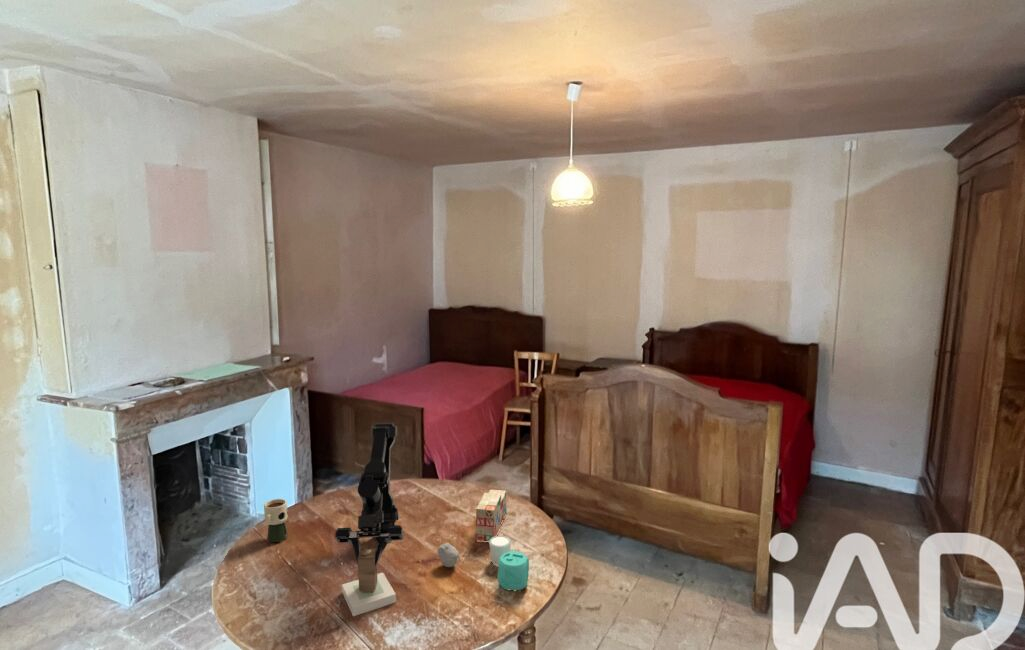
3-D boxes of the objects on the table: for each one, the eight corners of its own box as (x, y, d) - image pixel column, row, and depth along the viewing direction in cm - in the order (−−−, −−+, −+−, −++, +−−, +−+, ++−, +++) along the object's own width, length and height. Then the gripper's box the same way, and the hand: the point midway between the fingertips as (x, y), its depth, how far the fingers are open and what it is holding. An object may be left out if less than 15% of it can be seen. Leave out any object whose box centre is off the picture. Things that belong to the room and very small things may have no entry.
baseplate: (383, 580, 166) (382, 572, 166) (396, 602, 156) (395, 593, 156) (342, 592, 160) (341, 584, 160) (353, 616, 150) (352, 607, 150)
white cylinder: (514, 558, 178) (514, 538, 177) (505, 569, 171) (505, 548, 170) (495, 553, 180) (495, 533, 179) (485, 564, 174) (485, 543, 173)
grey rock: (444, 558, 178) (444, 537, 177) (463, 563, 175) (463, 542, 174) (433, 568, 172) (433, 547, 171) (453, 573, 169) (452, 552, 168)
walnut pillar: (361, 581, 160) (360, 547, 158) (377, 580, 160) (376, 547, 159) (359, 591, 155) (357, 556, 154) (375, 590, 156) (373, 555, 154)
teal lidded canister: (524, 593, 160) (524, 567, 159) (497, 590, 162) (497, 564, 160) (528, 576, 168) (529, 552, 167) (503, 574, 169) (502, 549, 168)
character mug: (279, 548, 184) (277, 511, 182) (259, 547, 184) (256, 510, 182) (295, 531, 195) (293, 496, 193) (275, 530, 195) (273, 495, 193)
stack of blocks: (490, 512, 208) (490, 481, 206) (506, 514, 207) (506, 482, 205) (476, 542, 187) (475, 508, 186) (494, 544, 186) (494, 509, 184)
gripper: (334, 502, 158) (327, 559, 149) (401, 499, 160) (397, 556, 151) (341, 514, 167) (335, 569, 158) (404, 511, 169) (401, 566, 160)
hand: (367, 565), depth 156 cm, fingers closed on walnut pillar, 4 cm apart
